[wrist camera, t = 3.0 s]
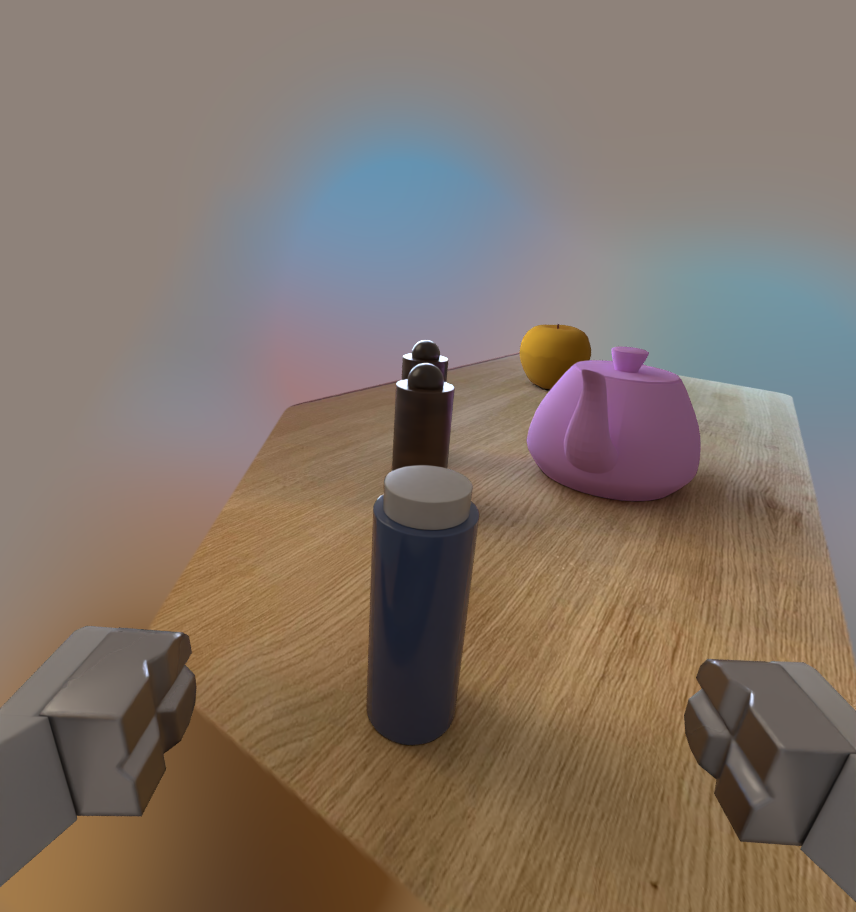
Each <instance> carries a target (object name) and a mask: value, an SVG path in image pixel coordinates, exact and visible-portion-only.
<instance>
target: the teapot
mask: <svg viewBox="0 0 856 912" xmlns="http://www.w3.org/2000/svg"><path fill="white" fill-rule="evenodd" d="M648 354H649V352H647V351H646V350H643V349H638V348H632V347H614V348H612V358H613V361H603V360H602V361H601V360H588V361H580V362H577V363H576V364H574V365H573V366H572V367H571V368H570V369H569V370H568V371H567V372H565V374H564V375H563V376H562V377H561V378H560V379H559V380H558V382H557V383H556V384H555V385H554V386H553V387H552V389H551V390H550V391H549V392H548V394H547V395H546V396H545V398H544V399H543V400H542V402H541V404H540V405H539V407H538V409H537V410H536V413H535V415H534V417H533V419H532V422H531V425H530V428H529V432H528V437H527V445H528V450H529V451H530V453H531V455H532V457H533V459H534V460H535V462H536V463H537V465H538V466H539V467H540V469H541V470H542V471H543V472H544V473H545V474H546V475H547V476H548V477H550V478H551V479H553V480H555V481H556V482H558V483H560V484H562V485H564V486H567V487H569V488H572V489H574V490H577V491H580V492H583V493H587V494H591V495H594V496H599V497H603V498H609V499H615V500H624V501H650V500H656V499H660V498H663V497H666V496H668V495H669V494H671V493H673V492H675V491H677V490H679V489H680V488H682V487H683V486H685V485H686V484H688V483H689V482H690V481H691V480H692V479H693V478H694V476H695V475H696V473H697V470H698V466H699V460H700V433H699V426H698V422H697V419H696V415H695V412H694V409H693V407H692V404H691V401H690V398H689V396H688V393H687V390H686V388H685V386H684V384H683V382H682V380H681V379H680V378H679V376H678V375H676V374H674V373H672V372H669V371H666V370H662V369H658V368H654V367H650V366H646V365H643V363H644V361H645V360H646V358H647V356H648Z"/></svg>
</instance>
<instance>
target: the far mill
mask: <svg viewBox="0 0 856 912" xmlns="http://www.w3.org/2000/svg"><path fill="white" fill-rule="evenodd" d="M422 363H429V364H433V365H435V366H436V367H438V368H439V369H440V371H441V372H442V374H443V377H444V382H446V381H447V369H448V359H447V358H446V357H443V356H440V351H439V348H438V347H437V345H436V344H435V343H434V342H432V341H429V340H422V341H420V342H418V343H417V344H416V345H415V346H414V348H413V350H412V354H406V355H404V356H403V365H402V380H406V379H408V375H409V373H410V371H411V370H412V369H413V368H414V367H415V366H417V365H419V364H422Z"/></svg>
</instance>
